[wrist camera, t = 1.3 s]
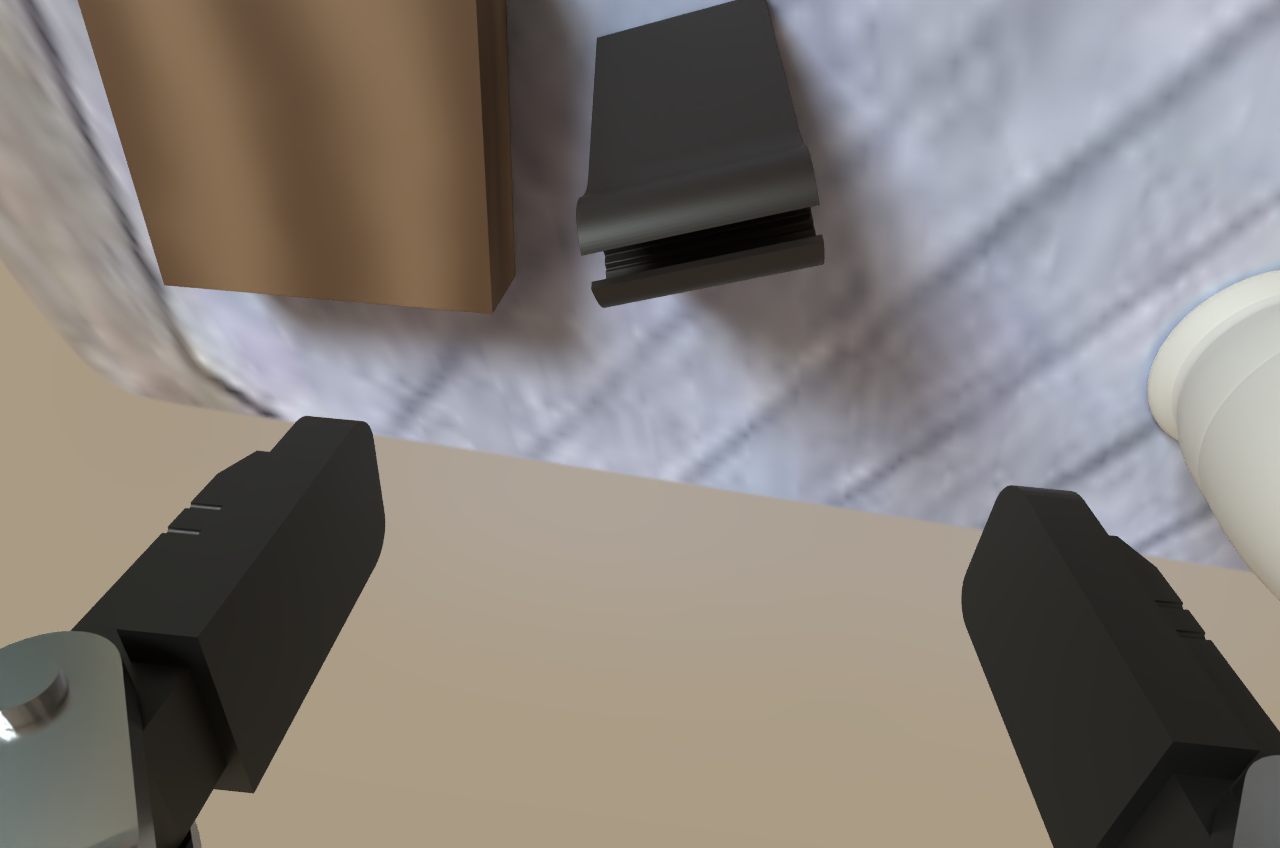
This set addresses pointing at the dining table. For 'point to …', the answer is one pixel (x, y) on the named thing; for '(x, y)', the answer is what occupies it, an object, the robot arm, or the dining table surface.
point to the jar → (1229, 412)
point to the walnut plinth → (318, 144)
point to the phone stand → (695, 158)
